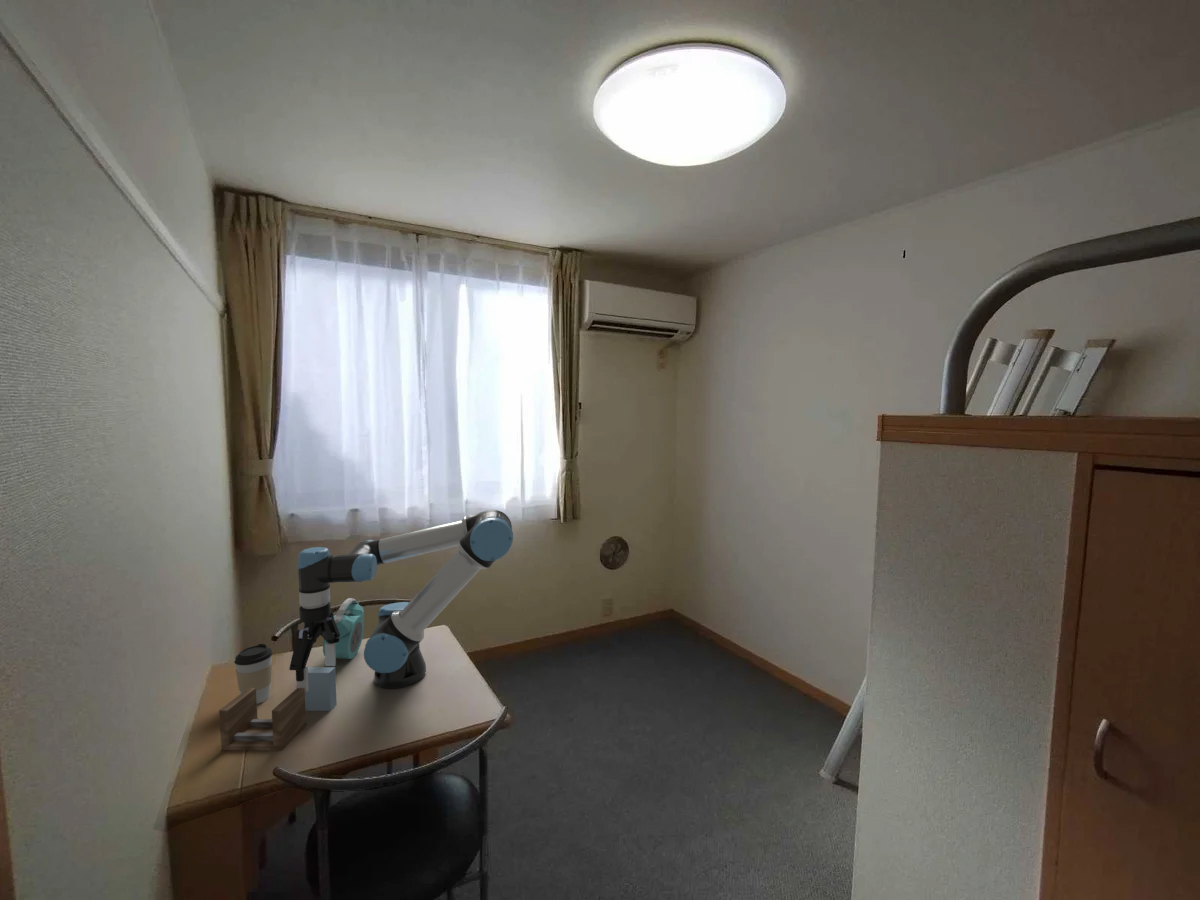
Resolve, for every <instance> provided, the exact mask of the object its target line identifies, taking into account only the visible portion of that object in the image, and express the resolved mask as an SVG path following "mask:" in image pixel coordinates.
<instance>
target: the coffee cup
mask: <svg viewBox="0 0 1200 900" xmlns="http://www.w3.org/2000/svg"><path fill="white" fill-rule="evenodd" d="M273 654H274V653H273V651H272V649H271V648H269V647H268V646H267V645H266V644H265V643H259V644H257V645H253V646H249V647H246V648H244V649H242V650H240V651H239V653H238V654H236V656H235V657H234V659H235V660H234V661H233V662H234V664H235V668H236V669H235V672H236V679H237V684H238V685H237V687H238V690H239V695H240V694H241V693H243V692H244V691H245V690H246V689H248V688H256V700H257V705H259V704H261V703H264V702H265V701H267V700H269V699H270V697H271V683H272V670H273V668H272V667H273V659H272V656H273Z"/></svg>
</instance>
